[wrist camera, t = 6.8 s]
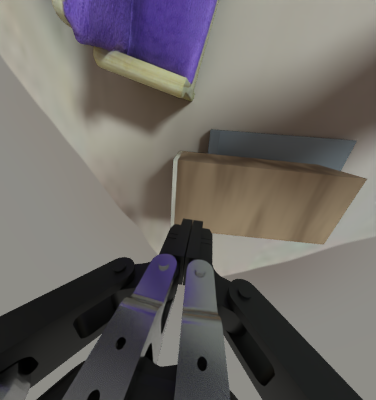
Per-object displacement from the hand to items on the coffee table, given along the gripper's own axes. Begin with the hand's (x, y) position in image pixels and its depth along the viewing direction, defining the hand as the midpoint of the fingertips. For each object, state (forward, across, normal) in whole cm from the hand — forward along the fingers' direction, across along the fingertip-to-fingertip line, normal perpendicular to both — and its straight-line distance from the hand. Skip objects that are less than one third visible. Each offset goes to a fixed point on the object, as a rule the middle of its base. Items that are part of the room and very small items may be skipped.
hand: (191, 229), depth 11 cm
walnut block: (+8, +3, 0) cm, 8 cm away
